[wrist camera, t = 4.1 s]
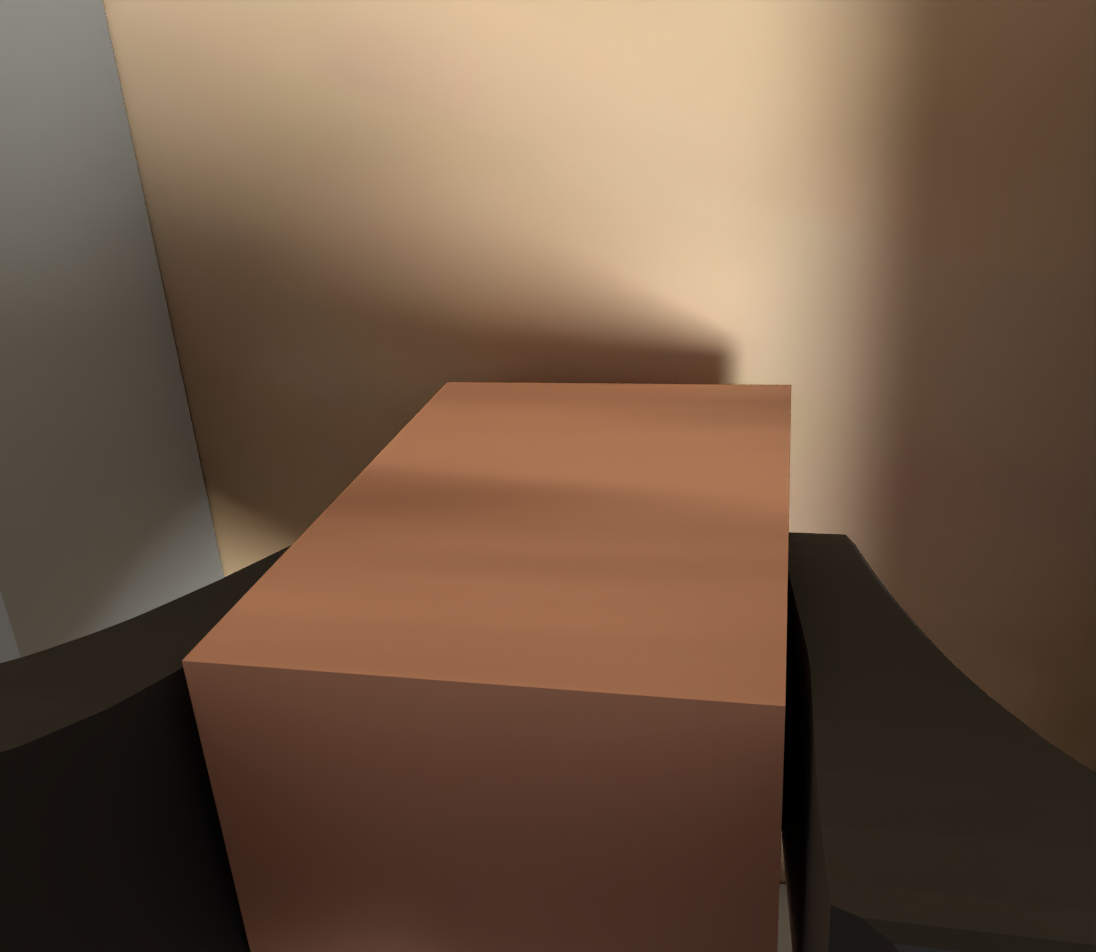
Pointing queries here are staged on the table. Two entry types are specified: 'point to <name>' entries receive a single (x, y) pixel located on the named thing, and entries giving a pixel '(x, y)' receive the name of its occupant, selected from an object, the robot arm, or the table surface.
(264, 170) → the table surface
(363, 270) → the table surface
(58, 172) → the open side box
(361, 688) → the block
